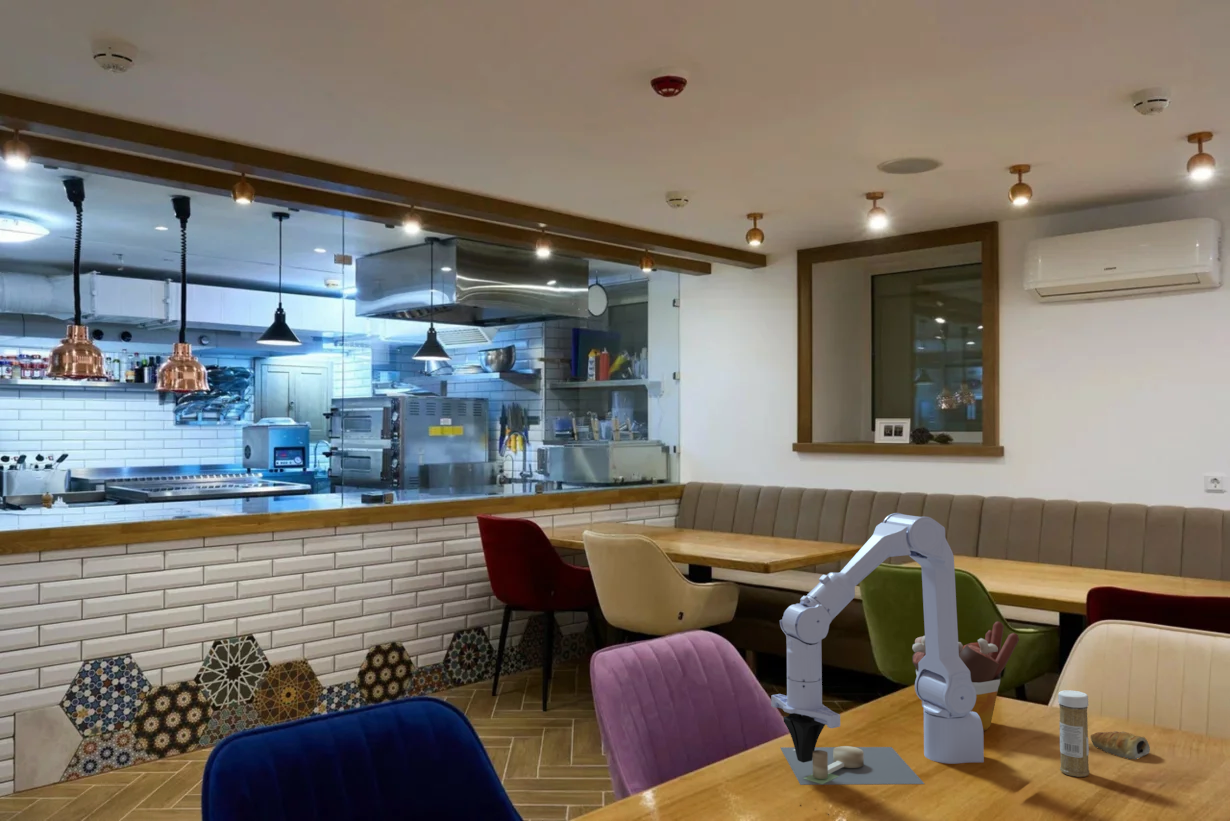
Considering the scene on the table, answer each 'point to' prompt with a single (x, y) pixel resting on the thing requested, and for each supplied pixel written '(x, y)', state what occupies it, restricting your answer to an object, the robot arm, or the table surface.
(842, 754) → the crank handle
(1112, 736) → the pastry
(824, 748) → the dial board
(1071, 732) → the spice jar
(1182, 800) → the table surface
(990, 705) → the bucket of meat
